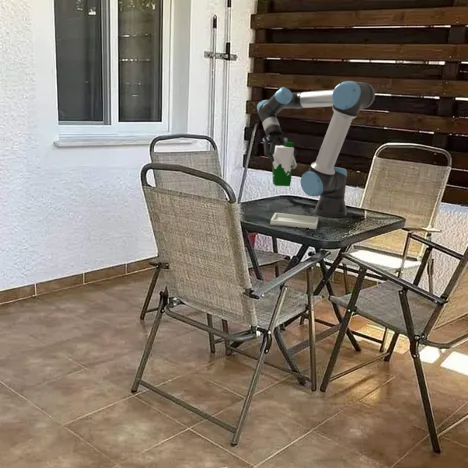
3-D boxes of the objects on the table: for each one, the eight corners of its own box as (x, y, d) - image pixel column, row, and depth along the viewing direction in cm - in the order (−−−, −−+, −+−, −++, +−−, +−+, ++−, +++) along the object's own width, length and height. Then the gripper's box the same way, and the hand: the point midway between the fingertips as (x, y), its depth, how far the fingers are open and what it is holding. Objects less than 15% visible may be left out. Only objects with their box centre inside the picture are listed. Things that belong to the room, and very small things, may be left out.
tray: (318, 221, 279) (318, 216, 278) (316, 229, 263) (316, 224, 263) (274, 217, 282) (275, 212, 281) (270, 224, 266) (270, 220, 266)
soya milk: (292, 186, 283) (295, 143, 278) (272, 186, 282) (276, 142, 277) (289, 183, 291) (292, 141, 286) (270, 182, 291) (273, 140, 286)
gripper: (289, 134, 299) (302, 171, 289) (249, 133, 290) (261, 172, 280) (295, 124, 293) (309, 162, 283) (254, 123, 284) (268, 162, 274)
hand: (285, 167), depth 282 cm, fingers closed on soya milk, 9 cm apart
